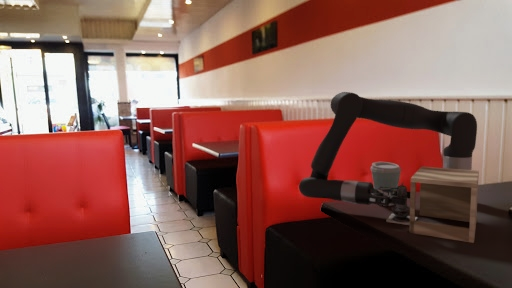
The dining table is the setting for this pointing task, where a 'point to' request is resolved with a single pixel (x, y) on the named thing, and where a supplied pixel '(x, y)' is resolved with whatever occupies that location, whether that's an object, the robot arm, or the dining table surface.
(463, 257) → the dining table surface
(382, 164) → the disposable coffee cup
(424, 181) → the hutch
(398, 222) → the mat
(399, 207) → the salt shaker
